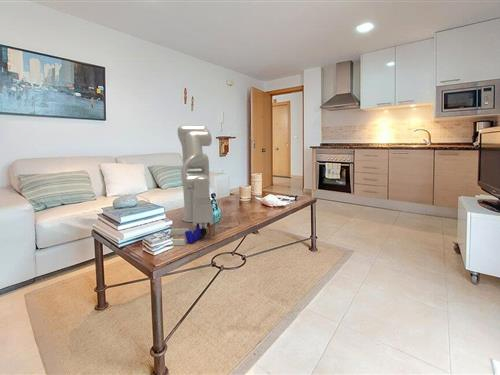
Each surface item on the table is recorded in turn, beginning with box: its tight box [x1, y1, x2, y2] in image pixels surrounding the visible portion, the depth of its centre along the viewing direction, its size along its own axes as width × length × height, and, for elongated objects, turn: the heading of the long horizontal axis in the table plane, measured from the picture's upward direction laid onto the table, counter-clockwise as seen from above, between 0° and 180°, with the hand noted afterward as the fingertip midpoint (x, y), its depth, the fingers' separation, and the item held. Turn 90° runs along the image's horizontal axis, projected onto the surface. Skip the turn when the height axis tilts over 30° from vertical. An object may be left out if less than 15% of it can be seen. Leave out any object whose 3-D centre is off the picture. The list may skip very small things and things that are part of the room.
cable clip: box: [184, 225, 203, 244], centre depth 137 cm, size 12×4×6 cm, turn 161°
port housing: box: [167, 227, 190, 247], centre depth 137 cm, size 17×10×3 cm, turn 6°
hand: (203, 235), depth 138 cm, fingers closed
